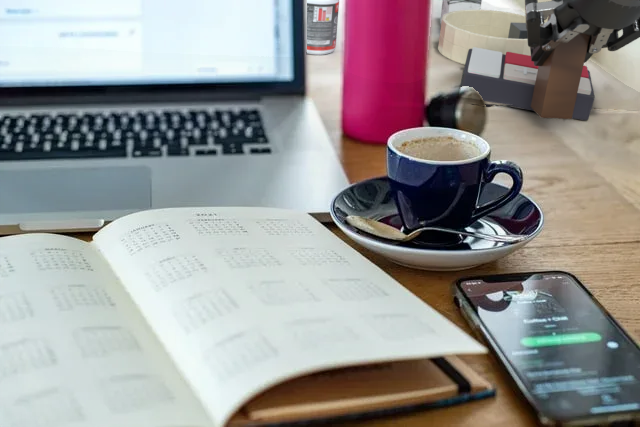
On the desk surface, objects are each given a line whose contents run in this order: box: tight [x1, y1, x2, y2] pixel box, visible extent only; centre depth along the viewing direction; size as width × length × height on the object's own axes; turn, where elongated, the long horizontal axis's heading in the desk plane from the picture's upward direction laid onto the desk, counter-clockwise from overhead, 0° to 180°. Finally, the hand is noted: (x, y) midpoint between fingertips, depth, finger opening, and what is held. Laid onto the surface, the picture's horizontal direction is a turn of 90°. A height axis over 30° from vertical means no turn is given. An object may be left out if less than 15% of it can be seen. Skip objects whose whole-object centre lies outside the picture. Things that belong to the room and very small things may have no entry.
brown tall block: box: [531, 0, 590, 120], centre depth 94 cm, size 4×4×12 cm
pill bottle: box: [306, 0, 340, 56], centre depth 116 cm, size 6×6×10 cm
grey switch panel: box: [459, 47, 595, 122], centre depth 105 cm, size 11×4×15 cm
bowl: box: [437, 9, 547, 66], centre depth 119 cm, size 15×15×5 cm
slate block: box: [508, 22, 527, 39], centre depth 119 cm, size 4×4×4 cm
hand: (554, 58), depth 96 cm, fingers closed on brown tall block, 3 cm apart
